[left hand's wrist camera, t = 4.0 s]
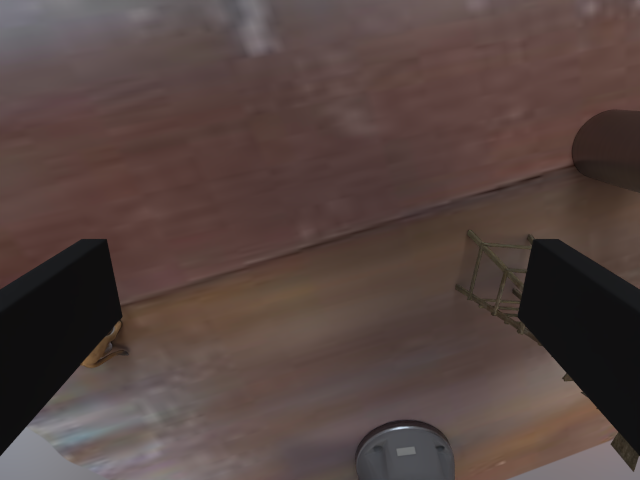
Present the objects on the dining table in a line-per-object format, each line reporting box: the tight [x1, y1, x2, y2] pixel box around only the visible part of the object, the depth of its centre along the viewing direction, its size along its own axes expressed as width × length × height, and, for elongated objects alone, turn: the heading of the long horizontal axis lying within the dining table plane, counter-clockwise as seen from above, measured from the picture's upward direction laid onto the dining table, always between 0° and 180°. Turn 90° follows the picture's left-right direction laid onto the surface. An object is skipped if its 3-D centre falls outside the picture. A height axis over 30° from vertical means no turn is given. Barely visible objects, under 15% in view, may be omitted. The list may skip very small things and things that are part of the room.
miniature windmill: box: [456, 230, 639, 472], centre depth 37 cm, size 9×8×30 cm
